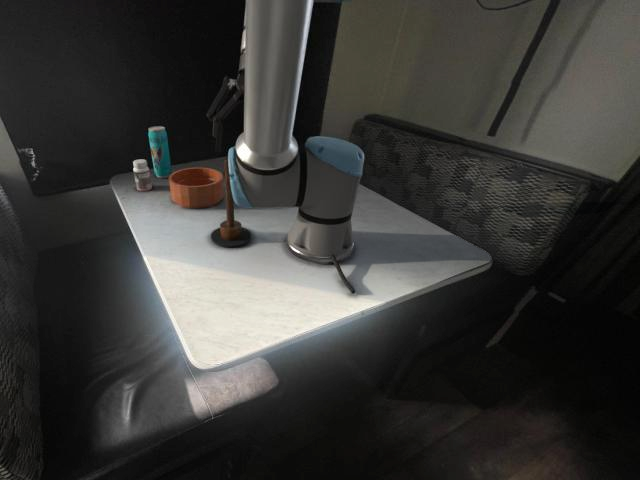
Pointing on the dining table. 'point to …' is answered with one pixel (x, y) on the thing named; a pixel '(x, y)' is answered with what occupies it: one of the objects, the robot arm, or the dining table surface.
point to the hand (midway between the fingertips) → (244, 155)
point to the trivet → (239, 242)
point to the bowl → (196, 187)
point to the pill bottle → (142, 175)
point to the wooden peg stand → (230, 212)
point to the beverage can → (160, 151)
